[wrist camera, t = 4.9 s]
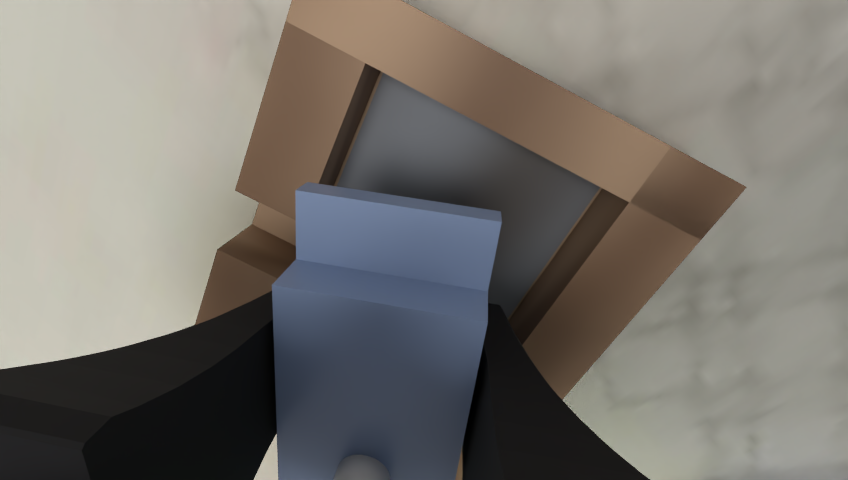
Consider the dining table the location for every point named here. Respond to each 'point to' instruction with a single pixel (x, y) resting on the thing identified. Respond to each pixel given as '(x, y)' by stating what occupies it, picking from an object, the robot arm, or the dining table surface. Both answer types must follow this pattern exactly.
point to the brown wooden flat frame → (470, 173)
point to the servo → (379, 334)
